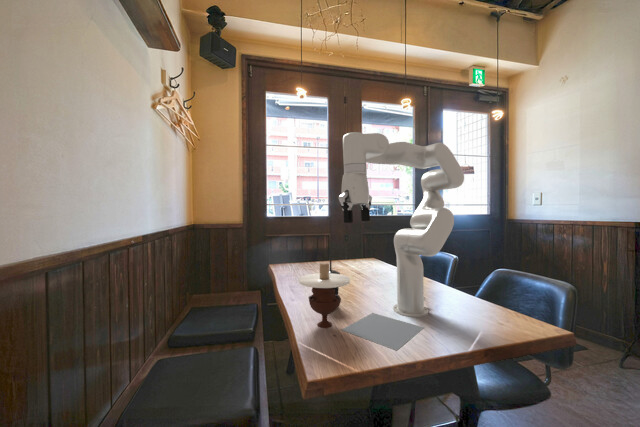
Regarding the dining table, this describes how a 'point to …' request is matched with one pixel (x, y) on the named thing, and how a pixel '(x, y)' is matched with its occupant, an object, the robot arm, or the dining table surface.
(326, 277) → the lid
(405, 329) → the mat
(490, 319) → the dining table surface
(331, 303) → the ice cream bowl
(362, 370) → the dining table surface
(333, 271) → the drinking cup
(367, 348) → the dining table surface
